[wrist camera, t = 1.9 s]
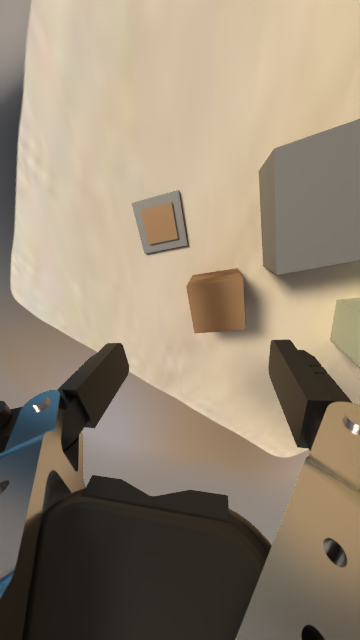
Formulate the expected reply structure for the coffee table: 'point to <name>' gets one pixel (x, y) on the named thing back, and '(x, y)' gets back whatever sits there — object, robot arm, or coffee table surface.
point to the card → (160, 222)
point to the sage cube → (347, 328)
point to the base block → (312, 201)
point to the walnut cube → (217, 301)
